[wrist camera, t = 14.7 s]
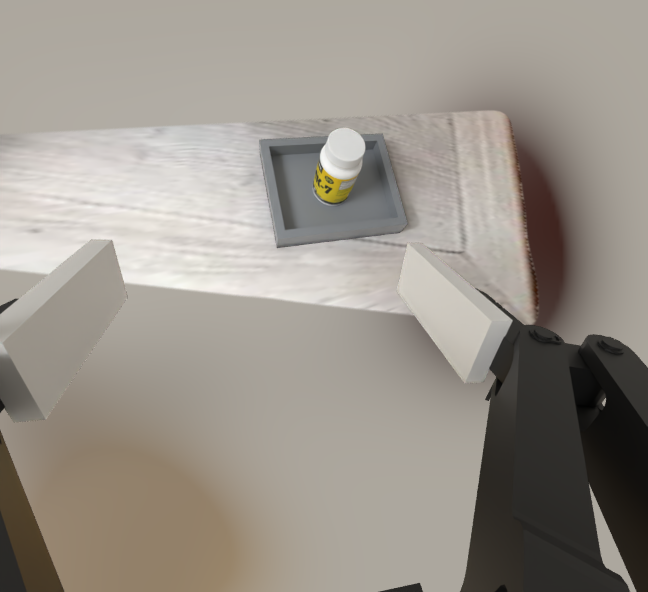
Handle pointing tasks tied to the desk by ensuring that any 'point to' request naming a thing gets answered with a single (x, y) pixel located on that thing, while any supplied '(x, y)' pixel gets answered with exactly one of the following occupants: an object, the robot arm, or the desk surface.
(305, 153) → the tray
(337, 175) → the supplement bottle
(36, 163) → the desk surface
